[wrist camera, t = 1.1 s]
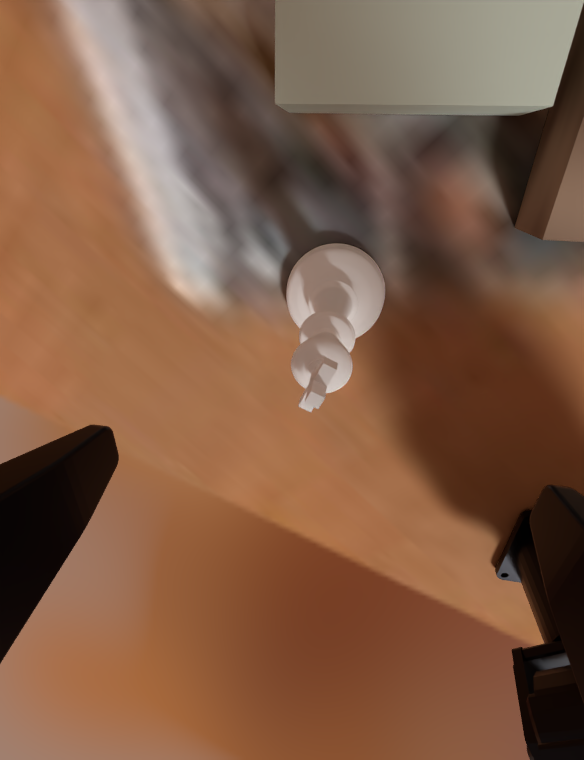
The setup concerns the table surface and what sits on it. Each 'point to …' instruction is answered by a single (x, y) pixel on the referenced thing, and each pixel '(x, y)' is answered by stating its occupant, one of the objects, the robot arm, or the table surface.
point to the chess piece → (331, 315)
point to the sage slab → (421, 55)
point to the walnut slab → (560, 159)
